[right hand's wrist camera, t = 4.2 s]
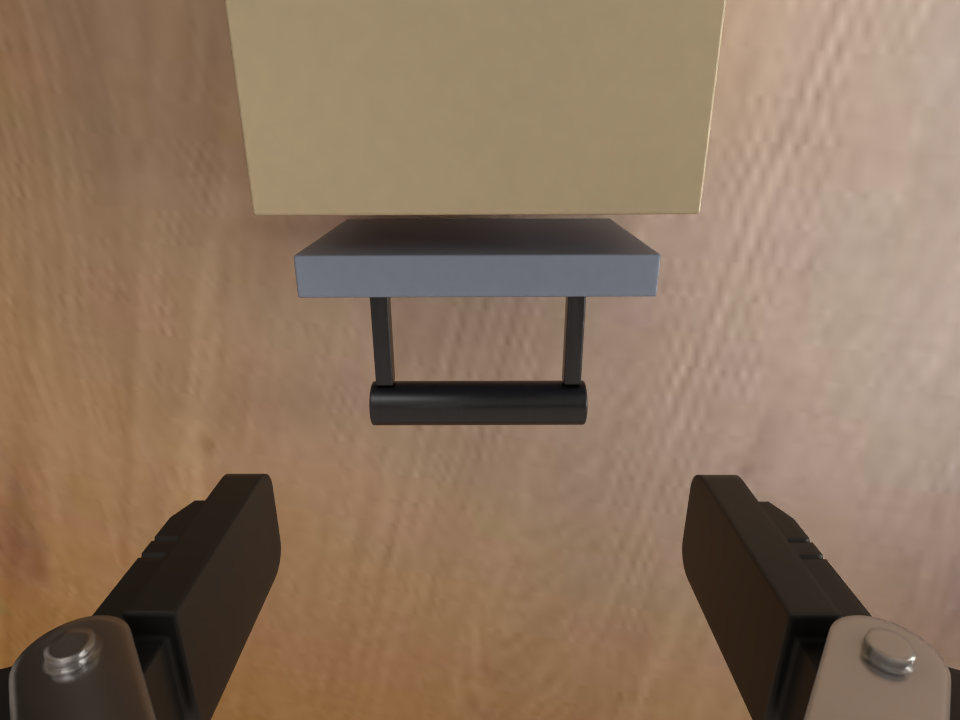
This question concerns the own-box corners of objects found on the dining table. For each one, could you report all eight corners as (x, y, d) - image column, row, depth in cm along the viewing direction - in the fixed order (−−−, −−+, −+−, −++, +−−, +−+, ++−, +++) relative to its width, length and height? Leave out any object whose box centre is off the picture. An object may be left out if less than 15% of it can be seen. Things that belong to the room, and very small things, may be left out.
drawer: (598, 381, 26) (638, 469, 19) (359, 381, 26) (317, 470, 19) (659, -473, 17) (777, -870, 10) (290, -470, 17) (163, -864, 10)
